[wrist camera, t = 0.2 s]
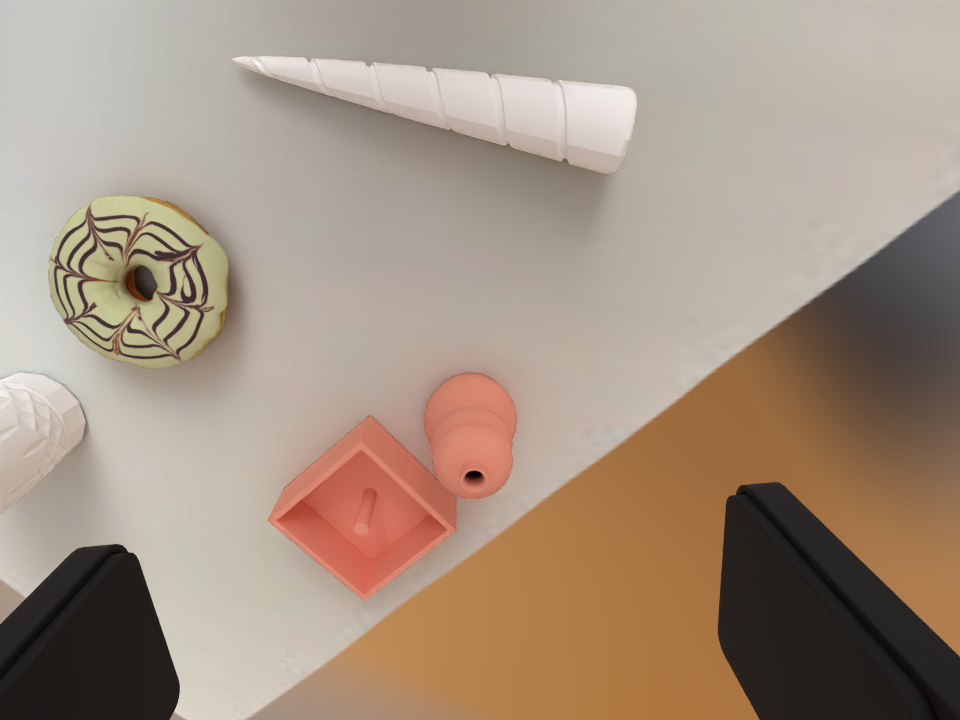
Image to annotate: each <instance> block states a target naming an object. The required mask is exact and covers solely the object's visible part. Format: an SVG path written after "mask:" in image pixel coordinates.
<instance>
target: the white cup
mask: <svg viewBox="0 0 960 720" xmlns="http://www.w3.org/2000/svg"><path fill="white" fill-rule="evenodd" d="M85 423H86V420H85V417H84V415H83V412H82V409H81V406H80V403H79V401H78V400H77V399H76V398H75V397H74V396H73V395H72V394H71V393H70V392H69V390H68V389H67V388H66V387H65V386H64V385H62V384H60V383H58V382H56V381H54V380H52V379H50V378H48V377H46V376H44V375H41V374H32V373H23V372H18V373H15V374H12V375H9V376H6V377H3V378H0V515H1V514H2V513H3V512H4V511H5V510H7V509H8V508H9V507H10V506H11V505H12V504H14V503H15V502H16V501H17V500H18V499H20V498H21V497H22V496H23V495H24V494H26V493H27V492H28V491H29V490H30V489H31V488H33V487H34V486H35V485H36V484H37V483H38V482H39V481H40V480H42V479H43V477H44V476H46V475H47V474H48V473H49V472H50V471H52V470H53V469H54V468H55V467H56V465H57V463H59V462H60V461H61V460H62V459H63V458H65V457H66V456H67V455H68V454H69V453H70V452H71V451H72V450H73V449H74V448H75V447H76V446H77V445H78V444H79V443H80V442H81V441H82V439H83V434H84V429H85Z"/></svg>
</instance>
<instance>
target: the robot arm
mask: <svg viewBox="0 0 960 720" xmlns="http://www.w3.org/2000/svg"><path fill="white" fill-rule="evenodd" d="M718 637H719V641H720V645H721V648H722V651H723V653H724V655H725V657H726V659H727V661H728V663H729V665H730V666H731V668H732V670H733V672H734V674H735V675H736V677H737V679H738V681H739V683H740V685H741V686H742V688H743V690H744V692H745V694H746V696H747V697H748V699H749V700H750V703H751V705H752V706H753V708H754V710H755V712H756V714H757V716H758V717H759V719H760V720H960V657H959V656H958V655H957V654H956V653H955V652H954V651H953V650H952V649H951V648H950V647H949V646H948V645H947V644H946V643H945V642H944V641H943V640H942V639H941V638H940V637H939V636H938V635H937V634H936V633H935V632H934V631H933V630H932V629H930V628H929V626H928V625H927V624H926V623H924V621H922V620H921V619H920V618H919V617H918V616H917V615H916V614H915V613H914V612H913V611H912V610H911V609H910V608H909V607H908V606H907V605H906V604H905V603H904V602H903V601H902V600H901V599H900V598H899V597H898V596H897V595H896V594H895V593H894V592H893V591H892V590H890V589H889V587H887V586H886V585H885V584H884V583H883V582H882V581H881V580H880V579H879V578H878V577H877V576H876V575H875V574H874V573H873V572H872V571H871V570H870V569H869V568H868V567H867V566H866V565H865V564H864V563H863V562H862V561H860V559H858V557H856V556H855V554H854V553H853V552H852V551H850V550H849V549H848V548H847V547H846V546H845V545H844V544H843V543H842V542H841V541H840V540H839V539H838V538H837V537H836V536H835V535H834V534H833V533H832V532H831V531H830V530H829V529H828V528H827V527H826V526H825V525H824V524H823V523H822V522H821V521H820V520H819V519H818V518H816V516H814V515H813V514H812V513H811V512H810V511H809V510H808V509H807V508H806V507H805V506H804V505H803V504H802V503H801V502H800V501H799V500H798V499H797V498H796V497H795V496H794V495H793V494H792V493H791V492H790V491H789V490H788V489H787V488H786V487H785V486H783V485H782V484H781V483H778V482H771V483H760V484H750V485H741V486H740V487H739V488H738V490H737V492H736V495H733V496H729V497H728V499H727V503H726V514H725V529H724V543H723V558H722V573H721V588H720V603H719V618H718ZM179 692H180V684H179V680H178V677H177V674H176V671H175V668H174V665H173V662H172V659H171V656H170V653H169V650H168V647H167V644H166V641H165V638H164V635H163V632H162V629H161V626H160V623H159V620H158V617H157V614H156V611H155V608H154V605H153V602H152V599H151V596H150V593H149V590H148V587H147V584H146V581H145V578H144V575H143V572H142V569H141V566H140V563H139V560H138V558H137V556H136V555H135V554H134V553H130V552H129V553H128V551H127V549H126V548H125V547H124V546H122V545H119V544H112V545H102V546H91V547H82V548H78V549H76V550H75V551H74V552H72V553H71V554H70V555H69V556H68V557H67V558H66V559H65V560H64V561H63V562H62V563H61V564H60V565H59V566H58V567H57V568H56V569H55V570H54V571H53V572H52V573H51V574H50V575H49V576H48V577H47V578H46V579H45V580H44V581H43V582H42V583H41V584H40V585H39V586H38V587H37V588H36V589H35V590H34V591H33V592H32V593H31V594H30V595H29V596H28V597H27V598H26V599H25V600H24V601H23V602H22V603H21V604H20V605H19V606H18V607H17V608H16V609H15V610H14V611H13V612H12V613H11V614H10V615H9V616H8V617H7V618H6V619H5V620H4V621H3V622H2V623H1V624H0V720H170V718H171V716H172V714H173V712H174V710H175V708H176V706H177V703H178V699H179Z"/></svg>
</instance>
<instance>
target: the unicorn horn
mask: <svg viewBox="0 0 960 720" xmlns="http://www.w3.org/2000/svg"><path fill="white" fill-rule="evenodd" d="M232 61H233V62H234V63H235V64H237V65H240V66H242V67H244V68H246V69H249V70H252V71H255V72H257V73H260V74H263V75H266V76H269V77H272V78H277V79H278V80H281V81H284V82H287V83H290V84H293V85H296V86H299V87H303V88H306V89H309V90H312V91H316V92H319V93H322V94H325V95H329V96H335V97H337V98H339V99H342V100H345V101H349V102H352V103H356V104H359V105H362V106H366V107H369V108H373V109H376V110H380V111H383V112H387V113H390V114H392V113H394V114H396V115H398V116H400V117H404V118H407V119H411V120H414V121H418V122H421V123H425V124H428V125H432V126H436V127H439V128H443V129H446V130H450V129H453V130H454V131H455V132H457V133H461V134H464V135H468V136H471V137H475V138H478V139H482V140H485V141H489V142H493V143H496V144H500V145H503V146H505V145H507V144H508V143H509V144H510V146H511V147H512V148H514V149H518V150H522V151H525V152H529V153H532V154H536V155H539V156H543V157H546V158H550V159H553V160H557V161H560V162H561V161H562V160H563V159H564V158H565V159H567V160H568V163H569V164H571V165H575V166H579V167H582V168H586V169H589V170H593V171H596V172H601V173H607V174H608V173H612V172H615V171H617V169H618V168H619V166H620V165H621V163H622V161H623V159H624V157H625V154H626V151H627V149H628V146H629V143H630V140H631V136H632V132H633V129H634V124H635V117H636V95H635V93H634V91H633V90H632V89H631V88H627V87H623V86H614V85H603V84H593V83H582V82H572V81H563V80H558V81H556V82H554V83H552V82H551V81H550V80H549V79H543V78H533V77H523V76H513V75H504V74H493V75H491V77H489V76H488V75H487V74H486V73H484V72H474V71H463V70H453V69H443V68H433V69H431V70H430V72H427V70H426V69H425V68H424V67H421V66H411V65H399V64H388V63H376V62H373V63H372V64H371V65H370V67H367V66H366V64H365V63H364V62H363V61H349V60H335V59H320V58H313V59H312V60H311V61H310V62H309V63H308V61H307V60H306V59H305V58H302V57H279V56H252V57H247V56H245V57H236V58H233V59H232Z"/></svg>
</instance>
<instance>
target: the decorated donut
mask: <svg viewBox="0 0 960 720" xmlns="http://www.w3.org/2000/svg"><path fill="white" fill-rule="evenodd" d="M138 266H145V267H147V268H148V269H149V270H150V271H151V272H152V274H153V276H154V279H155V281H156V283H157V285H158V288H157V289H156V291H155V292H154V294H153V299H152V300H151V299H149V300H148V299H146V298H145V297H144V296H143V295H141V294H140V293H139V292H138V290H137V289H136V287H137V286H135V285H134V284H135V283H134V276H135V269H136V268H137V267H138ZM228 272H229V265H228V258H227V255H226V253H225V251H224V250H223V248H222V247H221V246H220V245H219V244H218V243H217V242H216V241H215V240H214V239H213V238H212V237H210V236H209V234H208V233H207V232H206V231H205V230H204V229H203V228H202V227H201V226H200V225H199V224H198V223H197V222H196V221H195V220H194V219H193V218H192V217H190V216H189V215H188V214H187V213H185V212H184V211H182V210H181V209H179V208H178V207H176V206H174V205H173V204H171V203H169V202H165V201H160V200H158V199H154V198H146V197H135V196H101V197H99V198H97V199H95V200H93V201H92V202H90V203H89V204H88V205H86V206H85V207H83V208H81V209H80V210H78V211H77V212H76V213H75V214H74V215H73V216H72V217H71V218H70V219H69V220H68V221H67V223H66V225H65V226H64V227H63V228H62V230H61V231H60V233H59V235H58V236H57V238H56V239H55V242H54V245H53V248H52V250H51V253H50V258H49V271H48V274H49V276H48V280H49V286H50V295H51V299H52V301H53V303H54V305H55V308H56V310H57V311H58V312H59V314H60V315H61V317H62V319H63V320H64V322H65V324H66V325H67V327H68V328H69V329H70V330H71V331H72V332H73V334H75V335H76V336H77V338H78V339H79V341H80V342H82V343H84V344H85V345H86V346H87V347H89V348H90V349H92V350H94V351H95V352H97V353H99V354H100V355H102V356H104V357H107V358H110V359H114V360H116V361H119V362H124V363H129V364H132V365H135V366H139V367H143V368H155V369H160V368H167V367H170V366H174V365H176V364H178V363H182V362H184V361H186V360H188V359H191V358H193V357H195V356H197V355H199V354H200V353H201V352H202V351H203V349H204V348H205V347H206V345H207V344H208V343H209V342H210V341H212V340H213V339H214V338H215V337H216V336H217V335H218V334H219V333H220V331H221V329H222V327H223V325H224V322H225V318H226V313H227V309H228V299H229V290H228V282H227V277H228Z"/></svg>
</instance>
